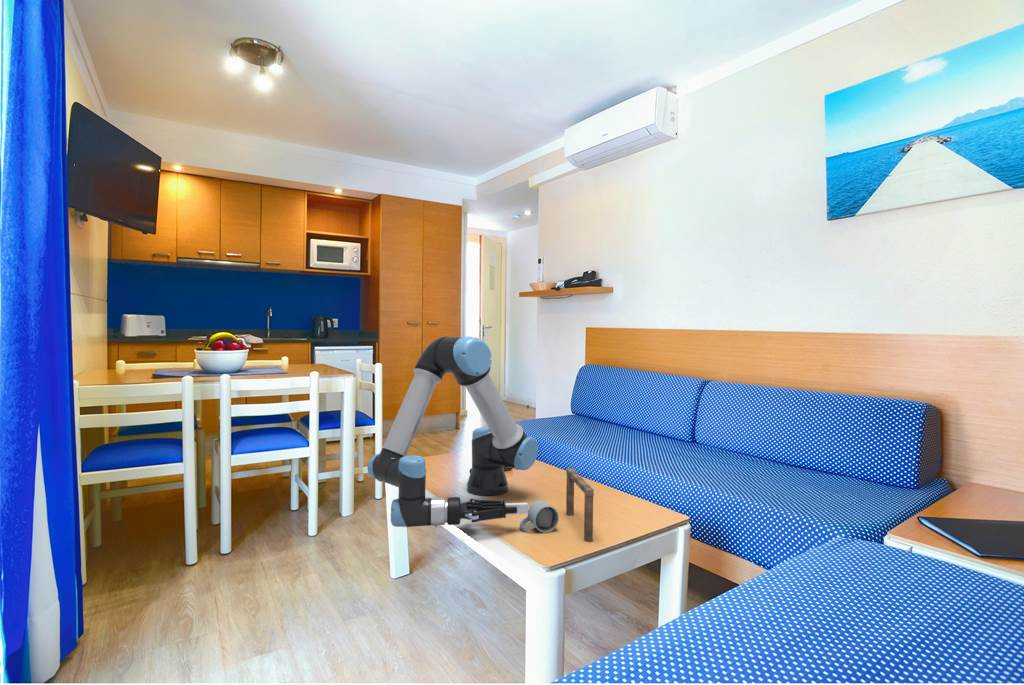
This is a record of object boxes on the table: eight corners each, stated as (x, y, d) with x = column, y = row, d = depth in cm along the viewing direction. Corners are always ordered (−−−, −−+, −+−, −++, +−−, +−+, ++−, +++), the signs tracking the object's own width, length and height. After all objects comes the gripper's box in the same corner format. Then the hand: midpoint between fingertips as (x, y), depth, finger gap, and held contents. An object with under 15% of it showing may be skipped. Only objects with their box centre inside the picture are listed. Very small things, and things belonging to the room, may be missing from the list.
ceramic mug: (548, 521, 150) (548, 496, 150) (559, 531, 143) (559, 505, 142) (515, 525, 147) (515, 500, 147) (525, 536, 139) (525, 509, 139)
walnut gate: (565, 512, 157) (565, 468, 157) (572, 512, 158) (573, 468, 158) (585, 541, 135) (586, 490, 135) (593, 541, 136) (594, 489, 135)
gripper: (446, 515, 147) (523, 512, 150) (446, 533, 134) (531, 529, 137) (446, 491, 146) (524, 488, 150) (446, 505, 134) (531, 502, 137)
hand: (527, 508), depth 143 cm, fingers closed
